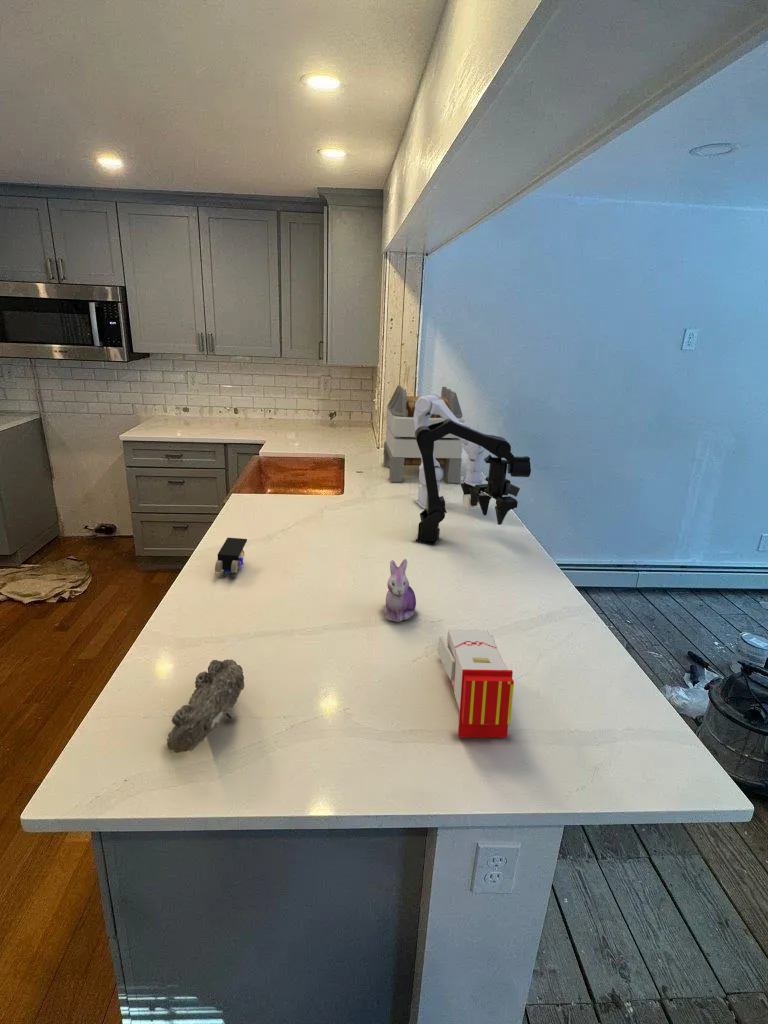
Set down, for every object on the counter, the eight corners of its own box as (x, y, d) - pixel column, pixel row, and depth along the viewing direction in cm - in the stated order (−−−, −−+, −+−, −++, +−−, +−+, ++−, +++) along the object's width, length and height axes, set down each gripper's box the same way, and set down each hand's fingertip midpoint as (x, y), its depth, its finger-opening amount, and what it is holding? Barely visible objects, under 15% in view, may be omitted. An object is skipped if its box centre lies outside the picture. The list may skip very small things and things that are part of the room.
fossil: (192, 660, 117) (244, 628, 112) (224, 691, 120) (276, 661, 115) (142, 746, 98) (202, 712, 93) (182, 779, 101) (242, 748, 96)
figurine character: (238, 584, 162) (249, 557, 175) (236, 562, 158) (247, 536, 172) (215, 584, 161) (227, 556, 175) (212, 561, 158) (225, 535, 171)
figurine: (392, 627, 141) (395, 572, 136) (374, 608, 149) (376, 556, 144) (425, 619, 145) (429, 566, 140) (405, 601, 154) (408, 550, 149)
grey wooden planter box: (382, 463, 289) (386, 382, 275) (445, 464, 293) (451, 384, 279) (390, 482, 257) (394, 392, 243) (460, 483, 261) (468, 394, 247)
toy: (488, 613, 130) (523, 677, 101) (484, 667, 133) (517, 744, 104) (435, 612, 130) (455, 676, 101) (432, 666, 133) (451, 743, 103)
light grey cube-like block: (478, 508, 219) (479, 497, 217) (467, 509, 217) (468, 498, 216) (472, 504, 223) (473, 493, 221) (462, 505, 221) (463, 494, 220)
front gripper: (534, 482, 183) (528, 527, 188) (502, 467, 199) (497, 508, 204) (505, 484, 179) (499, 530, 184) (474, 469, 195) (470, 511, 200)
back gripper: (493, 474, 210) (489, 508, 215) (473, 464, 223) (470, 496, 227) (476, 475, 208) (473, 510, 212) (457, 465, 220) (454, 498, 225)
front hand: (492, 519), depth 193 cm, fingers open, 9 cm apart
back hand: (470, 503), depth 220 cm, fingers closed on light grey cube-like block, 4 cm apart
